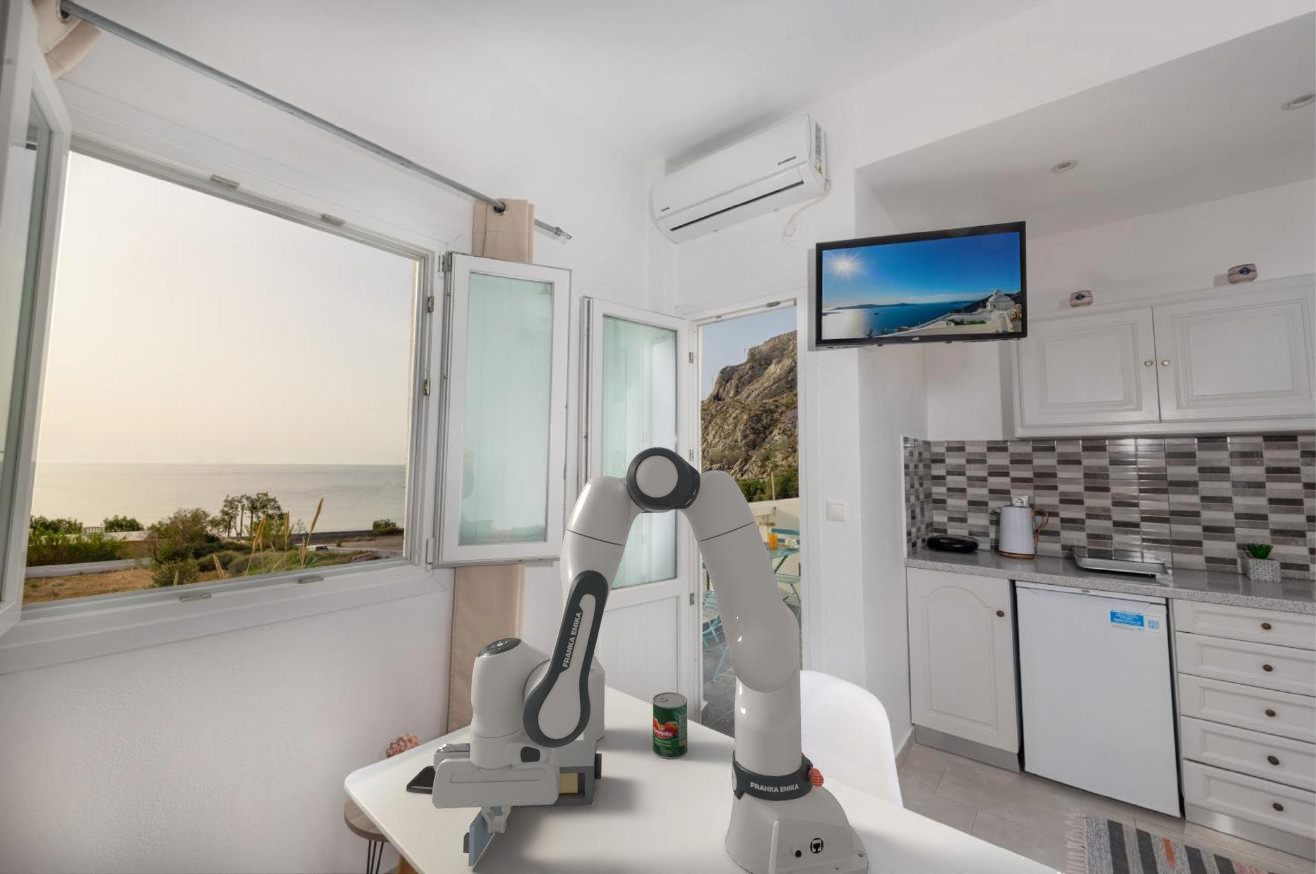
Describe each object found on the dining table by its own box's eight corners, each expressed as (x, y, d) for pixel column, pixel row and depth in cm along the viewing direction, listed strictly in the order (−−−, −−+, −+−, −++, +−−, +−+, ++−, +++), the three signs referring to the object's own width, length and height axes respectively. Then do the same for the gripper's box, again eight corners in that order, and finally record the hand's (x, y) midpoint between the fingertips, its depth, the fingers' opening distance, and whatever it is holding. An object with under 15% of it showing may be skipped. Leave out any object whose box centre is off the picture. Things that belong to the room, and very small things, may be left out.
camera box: (601, 774, 105) (602, 739, 106) (599, 804, 95) (599, 765, 96) (517, 777, 104) (518, 741, 105) (506, 808, 94) (507, 768, 95)
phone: (476, 794, 97) (403, 787, 99) (476, 800, 97) (403, 793, 99) (494, 770, 105) (427, 764, 107) (494, 776, 105) (426, 770, 107)
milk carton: (561, 740, 119) (562, 656, 120) (582, 728, 125) (583, 648, 126) (583, 749, 115) (584, 662, 116) (604, 736, 120) (605, 653, 122)
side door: (473, 866, 80) (475, 826, 80) (462, 865, 80) (463, 825, 80) (511, 806, 94) (512, 772, 95) (501, 805, 94) (502, 771, 95)
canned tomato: (688, 741, 118) (688, 692, 119) (687, 760, 111) (687, 707, 111) (654, 740, 119) (654, 691, 120) (650, 758, 111) (650, 706, 112)
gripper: (426, 755, 81) (423, 847, 80) (556, 750, 82) (555, 842, 81) (441, 734, 87) (439, 820, 86) (562, 731, 88) (561, 815, 87)
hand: (496, 830), depth 83 cm, fingers closed
